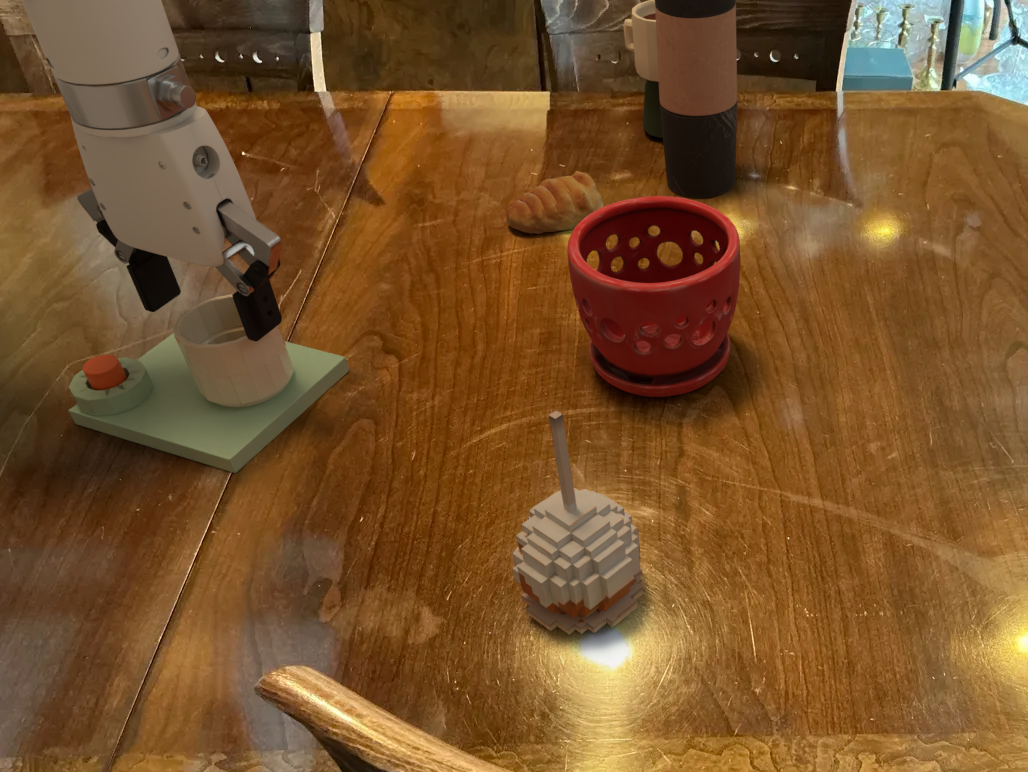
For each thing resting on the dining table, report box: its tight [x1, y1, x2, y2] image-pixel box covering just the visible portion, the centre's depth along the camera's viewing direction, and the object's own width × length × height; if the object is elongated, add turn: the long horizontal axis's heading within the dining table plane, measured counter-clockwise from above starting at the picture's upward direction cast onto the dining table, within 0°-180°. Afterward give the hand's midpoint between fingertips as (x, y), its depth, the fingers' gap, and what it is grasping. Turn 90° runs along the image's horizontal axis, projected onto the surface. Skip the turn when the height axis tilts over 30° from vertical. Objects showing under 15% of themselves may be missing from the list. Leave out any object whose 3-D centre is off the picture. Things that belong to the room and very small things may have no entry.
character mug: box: [623, 0, 663, 139], centre depth 116 cm, size 11×7×13 cm, turn 58°
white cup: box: [173, 293, 294, 407], centre depth 84 cm, size 7×7×6 cm
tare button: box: [82, 354, 127, 391], centre depth 84 cm, size 3×3×2 cm
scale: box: [68, 332, 350, 474], centre depth 86 cm, size 17×14×3 cm
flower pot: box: [566, 195, 741, 398], centre depth 85 cm, size 13×13×12 cm
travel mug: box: [655, 0, 738, 199], centre depth 105 cm, size 8×8×20 cm
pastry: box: [505, 170, 604, 235], centre depth 106 cm, size 9×7×4 cm
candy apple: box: [511, 410, 644, 635], centre depth 66 cm, size 8×8×15 cm
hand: (214, 316), depth 82 cm, fingers open, 9 cm apart
